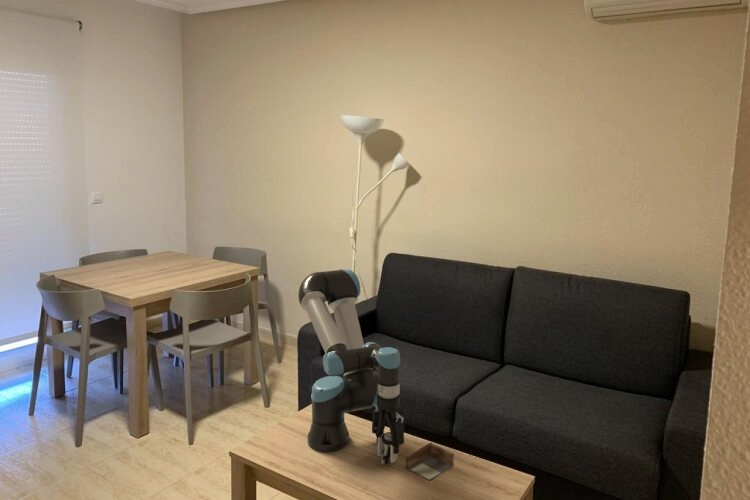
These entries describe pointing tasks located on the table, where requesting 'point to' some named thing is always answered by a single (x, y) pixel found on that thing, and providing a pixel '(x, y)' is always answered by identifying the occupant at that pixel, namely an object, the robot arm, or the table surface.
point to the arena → (429, 461)
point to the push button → (386, 448)
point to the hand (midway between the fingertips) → (387, 457)
